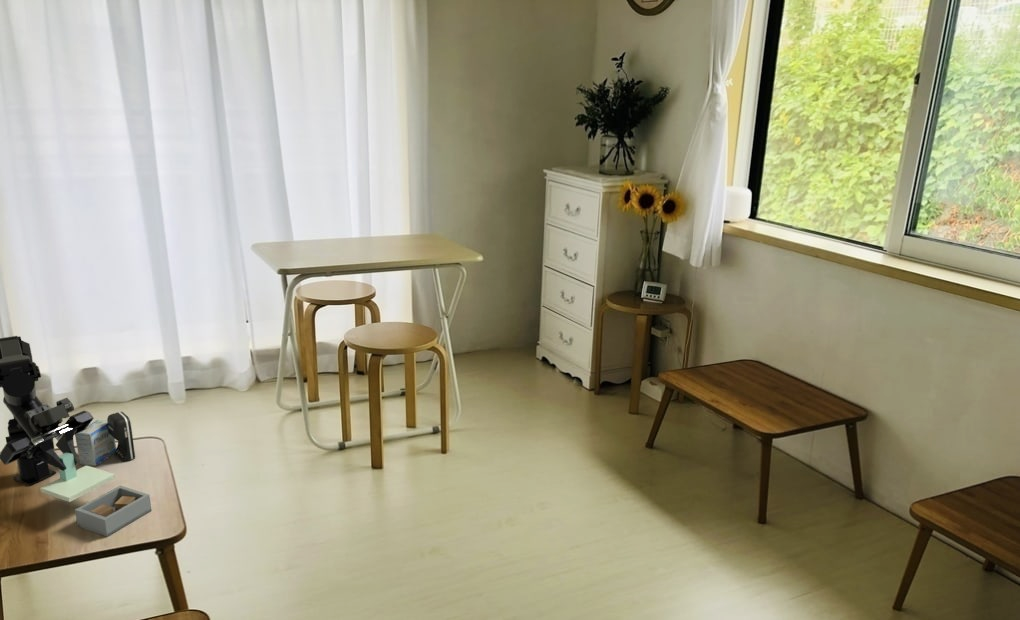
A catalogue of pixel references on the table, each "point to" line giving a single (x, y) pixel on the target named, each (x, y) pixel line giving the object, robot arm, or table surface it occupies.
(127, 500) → the block
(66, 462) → the lid
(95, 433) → the medicine box
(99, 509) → the block
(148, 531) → the table surface
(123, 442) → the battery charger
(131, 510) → the tub
